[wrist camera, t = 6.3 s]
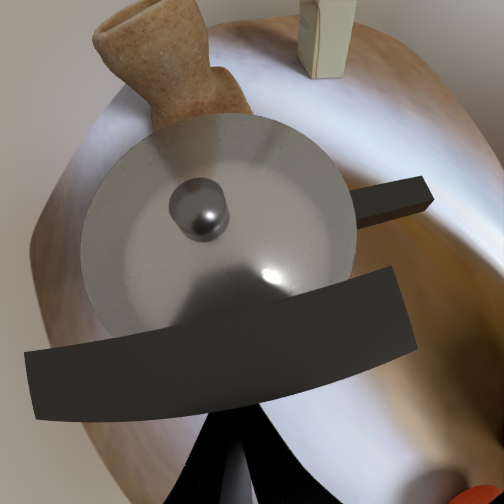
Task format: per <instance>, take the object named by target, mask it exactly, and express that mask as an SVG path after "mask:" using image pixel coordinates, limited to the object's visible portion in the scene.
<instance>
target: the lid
mask: <svg viewBox="0 0 504 504" xmlns="http://www.w3.org/2000/svg"><path fill="white" fill-rule="evenodd" d="M356 240H357V227H356V215H355V211H354V206H353V202H352V198H351V195H350V193H349V190H348V187H347V185H346V182H345V181H344V179H343V177H342V175H341V174H340V172H339V170H338V168H337V167H336V166H335V164H334V163H333V162H332V160H331V159H330V158H329V156H328V155H327V154H326V153H325V152H324V151H323V150H322V149H321V148H320V147H319V146H318V145H317V144H315V143H314V142H313V141H312V140H310V139H309V138H308V137H306V136H305V135H303V134H302V133H300V132H298V131H297V130H295V129H293V128H291V127H289V126H287V125H285V124H282V123H280V122H278V121H275V120H272V119H268V118H265V117H261V116H256V115H250V114H242V113H215V114H208V115H201V116H197V117H193V118H189V119H185V120H182V121H179V122H176V123H174V124H171V125H169V126H167V127H165V128H163V129H160V130H158V131H157V132H155V133H153V134H152V135H150V136H148V137H147V138H145V139H144V140H142V141H141V142H139V143H138V144H137V145H135V146H134V147H133V148H132V149H130V150H129V151H128V152H127V153H126V154H125V155H124V156H123V157H122V158H121V159H120V160H119V161H118V162H117V163H116V164H115V165H114V167H113V168H112V169H111V170H110V171H109V173H108V174H107V176H106V177H105V178H104V180H103V181H102V183H101V184H100V186H99V188H98V190H97V191H96V193H95V195H94V197H93V199H92V202H91V204H90V206H89V209H88V212H87V215H86V218H85V222H84V225H83V231H82V237H81V247H80V262H81V273H82V278H83V282H84V287H85V290H86V293H87V296H88V298H89V301H90V304H91V306H92V308H93V309H94V311H95V313H96V315H97V317H98V319H99V320H100V321H101V323H102V324H103V325H104V327H105V328H106V329H107V331H108V332H109V333H110V334H111V335H112V336H113V337H114V338H111V339H106V340H100V341H94V342H89V343H83V344H77V345H71V346H64V347H58V348H51V349H44V350H37V351H30V352H24V357H25V364H26V372H27V378H28V384H29V390H30V395H31V400H32V405H33V409H34V413H35V418H36V419H37V420H48V421H64V422H128V421H144V420H157V419H167V418H176V417H184V416H192V415H199V414H205V413H212V412H218V411H223V410H229V409H234V408H239V407H244V406H249V405H253V404H258V403H262V402H266V401H271V400H275V399H279V398H283V397H286V396H290V395H294V394H297V393H301V392H304V391H308V390H311V389H314V388H318V387H321V386H324V385H327V384H330V383H333V382H336V381H339V380H342V379H345V378H348V377H351V376H353V375H356V374H359V373H362V372H364V371H367V370H370V369H372V368H375V367H377V366H380V365H382V364H385V363H387V362H389V361H392V360H394V359H396V358H399V357H401V356H403V355H406V354H408V353H410V352H412V351H414V350H416V349H417V345H416V341H415V338H414V334H413V330H412V327H411V323H410V320H409V317H408V314H407V310H406V307H405V304H404V301H403V298H402V295H401V292H400V289H399V286H398V283H397V280H396V277H395V274H394V272H393V269H392V266H389V267H386V268H383V269H380V270H377V271H374V272H371V273H368V274H365V275H362V276H358V277H355V278H352V279H349V280H348V278H349V276H350V273H351V270H352V266H353V261H354V257H355V252H356Z"/></svg>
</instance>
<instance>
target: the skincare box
mask: <svg viewBox="0 0 504 504" xmlns="http://www.w3.org/2000/svg"><path fill="white" fill-rule="evenodd" d="M356 2H357V0H300V7H299V30H298V49H297V56H298V57H299V59H300V61H301V63H302V65H303V66H304V68H305V70H306V71H307V73H308V75H309V77H310V78H311V79H326V78H342V77H343V72H344V67H345V62H346V57H347V52H348V47H349V42H350V36H351V31H352V25H353V20H354V14H355V8H356Z"/></svg>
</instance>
